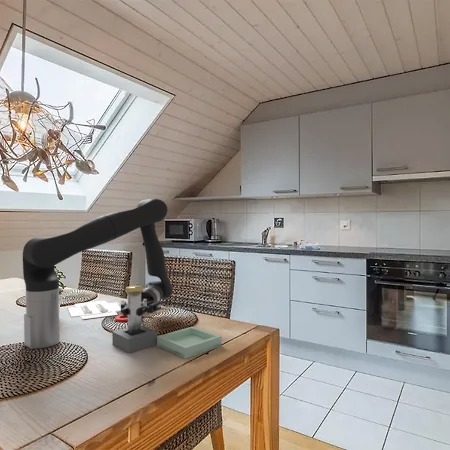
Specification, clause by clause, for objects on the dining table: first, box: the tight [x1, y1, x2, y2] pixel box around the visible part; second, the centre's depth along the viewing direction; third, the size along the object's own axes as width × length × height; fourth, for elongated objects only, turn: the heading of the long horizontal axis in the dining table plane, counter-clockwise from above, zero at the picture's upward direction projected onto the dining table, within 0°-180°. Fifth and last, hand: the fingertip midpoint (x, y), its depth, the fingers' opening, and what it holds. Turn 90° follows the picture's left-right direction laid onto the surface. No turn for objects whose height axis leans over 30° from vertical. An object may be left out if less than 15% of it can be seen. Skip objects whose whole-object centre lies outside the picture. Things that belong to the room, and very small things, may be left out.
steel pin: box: [125, 285, 144, 336], centre depth 111 cm, size 5×5×17 cm
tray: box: [156, 326, 223, 360], centre depth 110 cm, size 14×14×3 cm
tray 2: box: [67, 299, 121, 320], centre depth 154 cm, size 20×28×4 cm
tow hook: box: [114, 282, 144, 323], centre depth 140 cm, size 9×14×10 cm
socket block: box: [111, 324, 159, 354], centre depth 112 cm, size 10×10×4 cm
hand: (131, 312), depth 109 cm, fingers closed on steel pin, 4 cm apart
